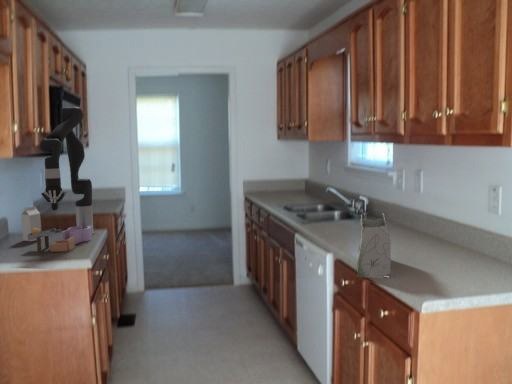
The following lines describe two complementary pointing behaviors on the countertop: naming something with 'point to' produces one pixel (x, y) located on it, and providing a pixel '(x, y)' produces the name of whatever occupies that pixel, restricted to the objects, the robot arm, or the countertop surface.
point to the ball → (35, 231)
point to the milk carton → (30, 221)
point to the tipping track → (43, 233)
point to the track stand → (40, 243)
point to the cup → (63, 245)
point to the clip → (78, 233)
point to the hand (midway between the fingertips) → (54, 210)
